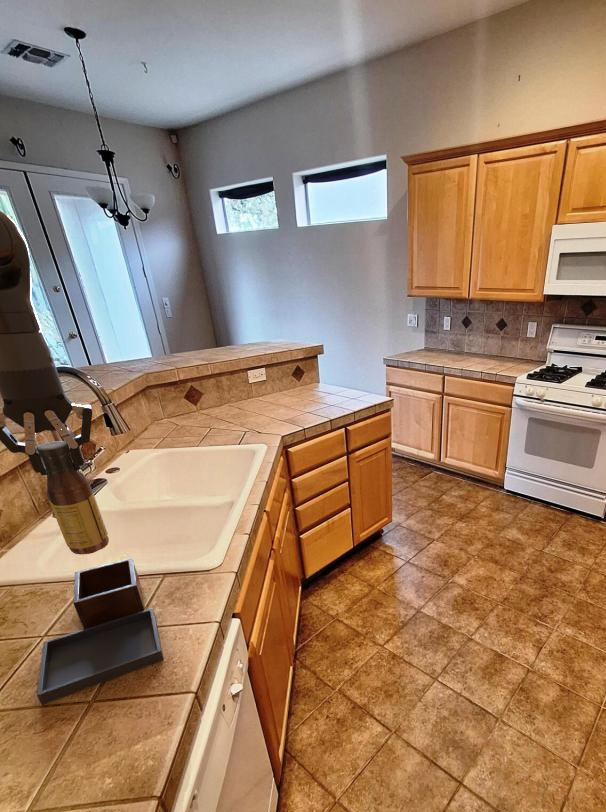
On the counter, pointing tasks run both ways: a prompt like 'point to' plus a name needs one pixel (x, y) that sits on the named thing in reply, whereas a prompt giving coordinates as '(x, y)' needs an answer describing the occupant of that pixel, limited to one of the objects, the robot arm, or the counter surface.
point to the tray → (98, 655)
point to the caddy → (107, 593)
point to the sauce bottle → (72, 500)
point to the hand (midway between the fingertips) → (61, 470)
